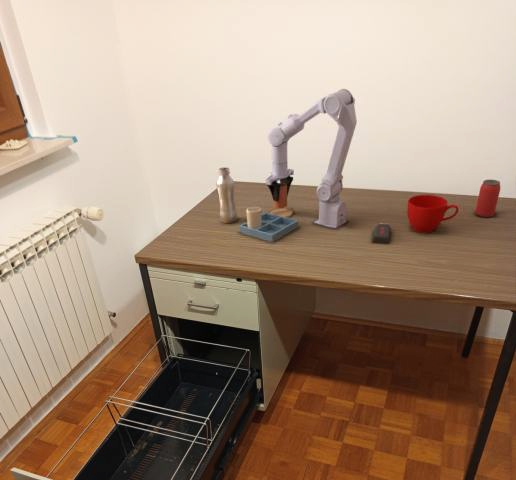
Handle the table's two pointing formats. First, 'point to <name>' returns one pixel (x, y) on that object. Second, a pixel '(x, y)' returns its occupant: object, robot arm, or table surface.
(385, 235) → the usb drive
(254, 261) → the table surface
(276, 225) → the rack
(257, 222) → the cream tumbler
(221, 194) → the plastic bottle
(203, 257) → the table surface
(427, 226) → the ceramic cup
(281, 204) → the tumbler
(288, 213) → the coaster
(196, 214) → the table surface
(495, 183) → the beer can
